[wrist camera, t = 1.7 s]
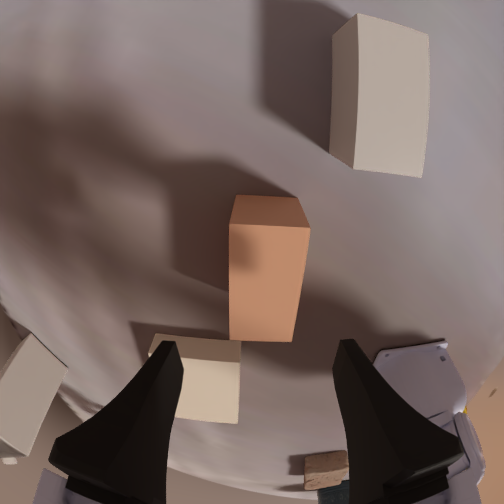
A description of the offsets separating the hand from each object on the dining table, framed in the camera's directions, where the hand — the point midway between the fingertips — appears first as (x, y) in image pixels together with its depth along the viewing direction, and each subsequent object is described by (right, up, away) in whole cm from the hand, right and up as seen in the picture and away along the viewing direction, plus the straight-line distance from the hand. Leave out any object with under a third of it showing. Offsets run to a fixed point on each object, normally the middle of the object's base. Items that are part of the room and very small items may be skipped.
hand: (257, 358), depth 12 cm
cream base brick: (-6, -8, +16) cm, 19 cm away
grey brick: (+7, +14, +3) cm, 16 cm away
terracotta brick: (+1, +5, +8) cm, 10 cm away
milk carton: (-30, -10, +17) cm, 35 cm away
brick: (+14, -39, +32) cm, 53 cm away
